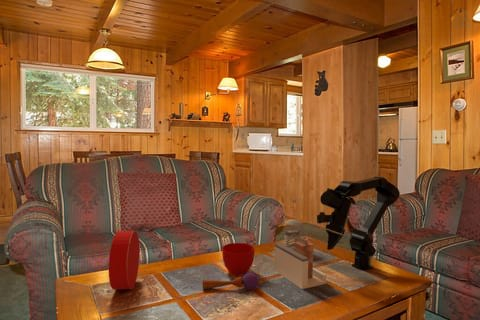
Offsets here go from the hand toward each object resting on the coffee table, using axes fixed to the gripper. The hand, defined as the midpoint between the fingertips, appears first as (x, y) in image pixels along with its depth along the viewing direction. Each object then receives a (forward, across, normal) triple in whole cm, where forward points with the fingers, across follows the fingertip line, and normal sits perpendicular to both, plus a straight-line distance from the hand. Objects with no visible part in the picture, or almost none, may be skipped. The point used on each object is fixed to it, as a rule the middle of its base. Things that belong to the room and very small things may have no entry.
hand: (329, 249), depth 134 cm
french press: (+8, -25, -17) cm, 32 cm away
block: (+13, +5, -6) cm, 15 cm away
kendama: (+24, +22, -26) cm, 42 cm away
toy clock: (+36, +35, -60) cm, 78 cm away
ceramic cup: (+21, +6, -31) cm, 38 cm away
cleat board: (+14, +3, -8) cm, 16 cm away
